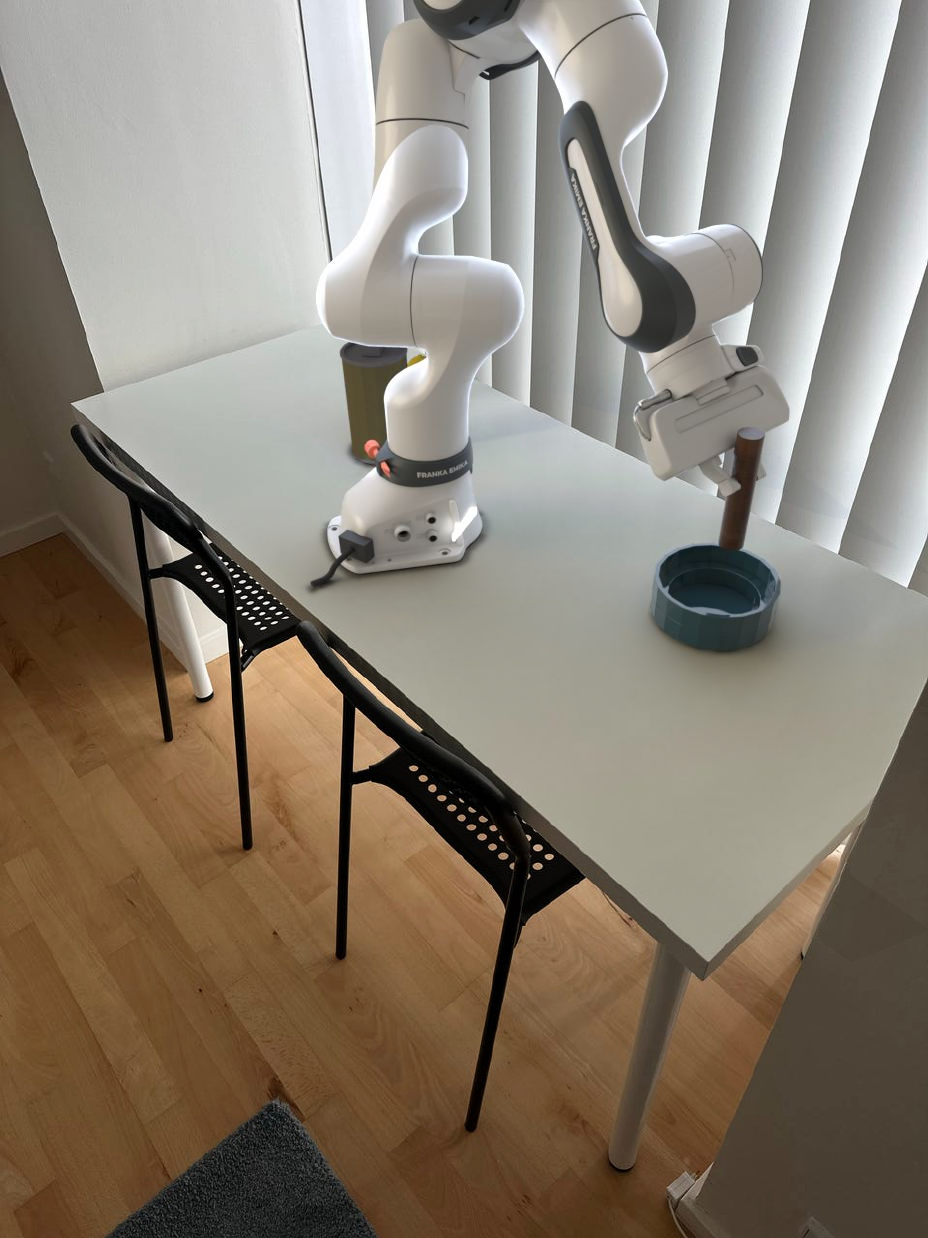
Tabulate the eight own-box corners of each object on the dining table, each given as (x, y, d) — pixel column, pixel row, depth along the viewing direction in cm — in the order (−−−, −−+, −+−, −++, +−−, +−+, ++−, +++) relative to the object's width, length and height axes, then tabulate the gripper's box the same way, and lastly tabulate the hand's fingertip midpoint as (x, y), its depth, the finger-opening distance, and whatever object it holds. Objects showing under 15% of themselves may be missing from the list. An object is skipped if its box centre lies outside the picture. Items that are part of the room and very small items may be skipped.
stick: (727, 553, 113) (747, 442, 104) (713, 540, 115) (731, 429, 106) (748, 547, 114) (770, 436, 104) (734, 534, 116) (754, 424, 107)
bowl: (690, 668, 114) (696, 630, 110) (629, 596, 125) (632, 559, 121) (796, 636, 118) (806, 598, 114) (728, 568, 129) (735, 532, 125)
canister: (406, 467, 152) (397, 348, 139) (344, 463, 153) (329, 345, 141) (420, 434, 160) (413, 319, 147) (361, 430, 162) (348, 316, 149)
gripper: (643, 394, 101) (701, 510, 101) (768, 342, 110) (821, 448, 111) (611, 417, 107) (666, 526, 107) (733, 365, 116) (783, 466, 116)
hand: (746, 486), depth 109 cm, fingers closed on stick, 3 cm apart
